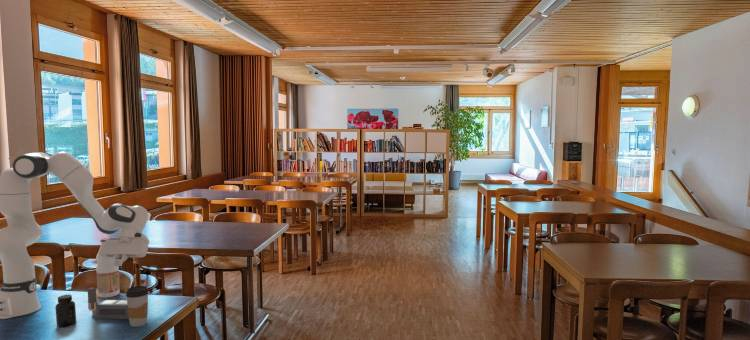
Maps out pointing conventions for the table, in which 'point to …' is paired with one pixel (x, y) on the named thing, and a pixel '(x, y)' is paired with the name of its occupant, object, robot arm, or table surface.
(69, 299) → the supplement bottle
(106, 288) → the fruit juice
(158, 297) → the table surface
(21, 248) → the robot arm
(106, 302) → the box
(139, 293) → the coffee cup
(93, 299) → the swing arm
